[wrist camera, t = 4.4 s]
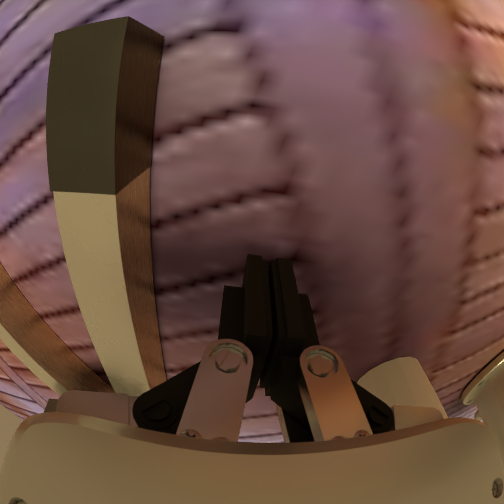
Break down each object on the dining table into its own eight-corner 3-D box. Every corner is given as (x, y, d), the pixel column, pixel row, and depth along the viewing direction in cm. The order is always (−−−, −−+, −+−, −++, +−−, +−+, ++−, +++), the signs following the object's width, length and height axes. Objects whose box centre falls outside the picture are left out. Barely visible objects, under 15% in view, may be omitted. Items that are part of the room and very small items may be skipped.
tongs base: (173, 420, 21) (168, 448, 19) (138, 420, 22) (132, 445, 20) (-43, 136, 7) (-76, 153, 5) (-59, 173, 8) (-86, 191, 6)
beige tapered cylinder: (374, 404, 20) (390, 469, 14) (328, 390, 18) (343, 474, 12) (436, 364, 17) (464, 431, 12) (404, 340, 15) (440, 430, 9)
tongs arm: (172, 407, 19) (167, 439, 17) (144, 401, 19) (136, 432, 16) (164, 36, 7) (128, 16, 4) (103, 43, 7) (54, 33, 4)
